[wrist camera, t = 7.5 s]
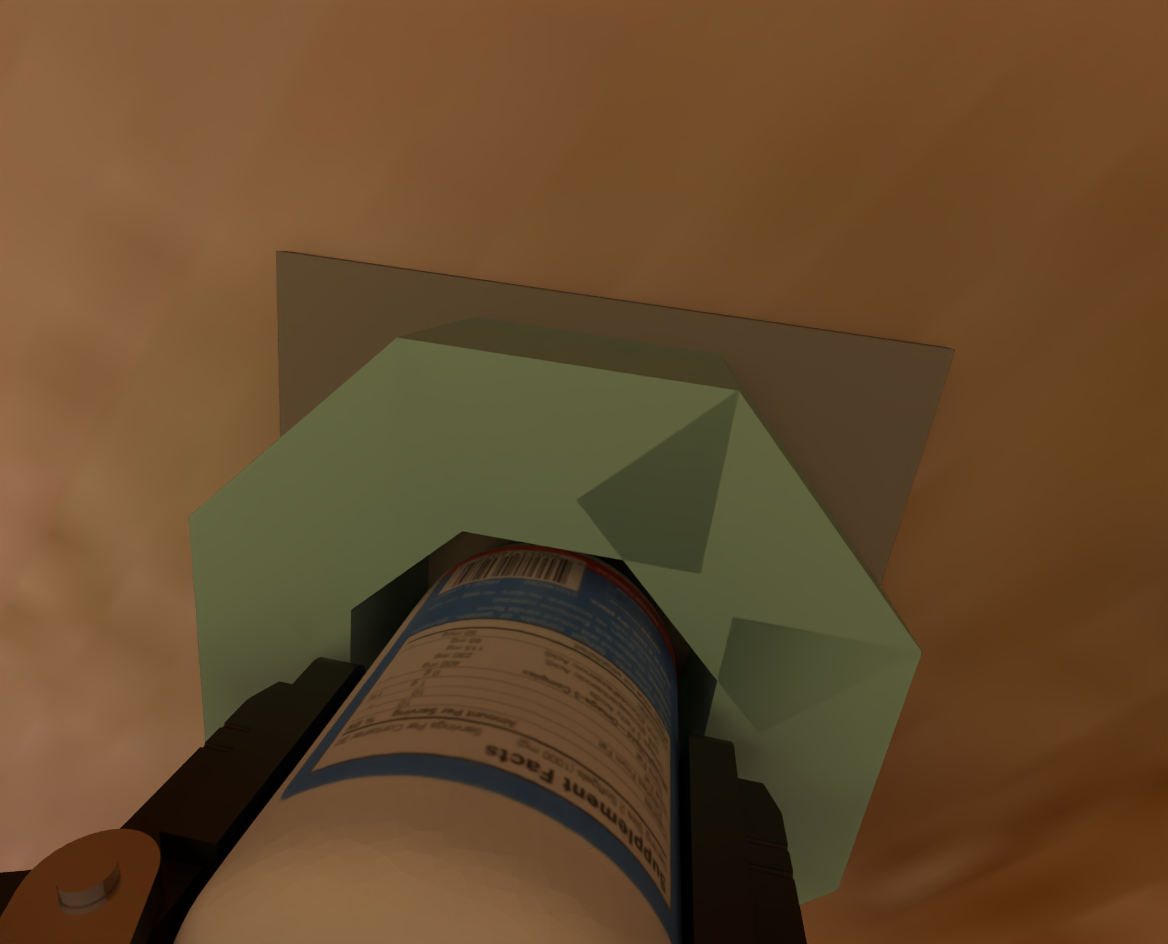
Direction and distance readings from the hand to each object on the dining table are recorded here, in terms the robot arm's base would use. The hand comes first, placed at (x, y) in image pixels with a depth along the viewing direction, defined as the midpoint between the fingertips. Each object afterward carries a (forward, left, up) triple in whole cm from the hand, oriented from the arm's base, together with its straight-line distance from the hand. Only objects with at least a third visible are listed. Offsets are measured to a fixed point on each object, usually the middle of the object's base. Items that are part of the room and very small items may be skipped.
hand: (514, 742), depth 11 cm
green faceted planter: (0, 0, -5) cm, 5 cm away
